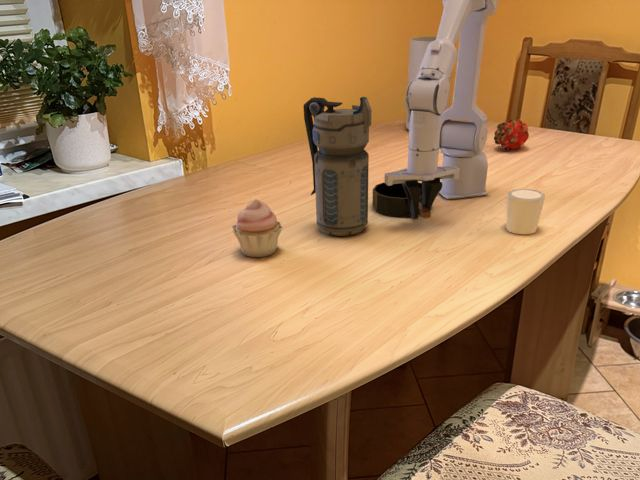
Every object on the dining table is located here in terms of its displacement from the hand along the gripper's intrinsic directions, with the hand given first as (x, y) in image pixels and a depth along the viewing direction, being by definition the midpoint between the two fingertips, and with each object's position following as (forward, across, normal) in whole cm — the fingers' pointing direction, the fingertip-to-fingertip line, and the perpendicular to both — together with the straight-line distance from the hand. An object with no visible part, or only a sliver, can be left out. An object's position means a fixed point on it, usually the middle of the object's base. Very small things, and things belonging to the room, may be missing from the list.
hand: (419, 216), depth 127 cm
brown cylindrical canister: (+2, -16, +3) cm, 16 cm away
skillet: (+2, 0, +6) cm, 7 cm away
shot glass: (+2, +18, -8) cm, 20 cm away
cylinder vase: (+2, +31, +75) cm, 81 cm away
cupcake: (+2, -33, -4) cm, 33 cm away
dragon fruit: (+2, +44, +46) cm, 64 cm away
